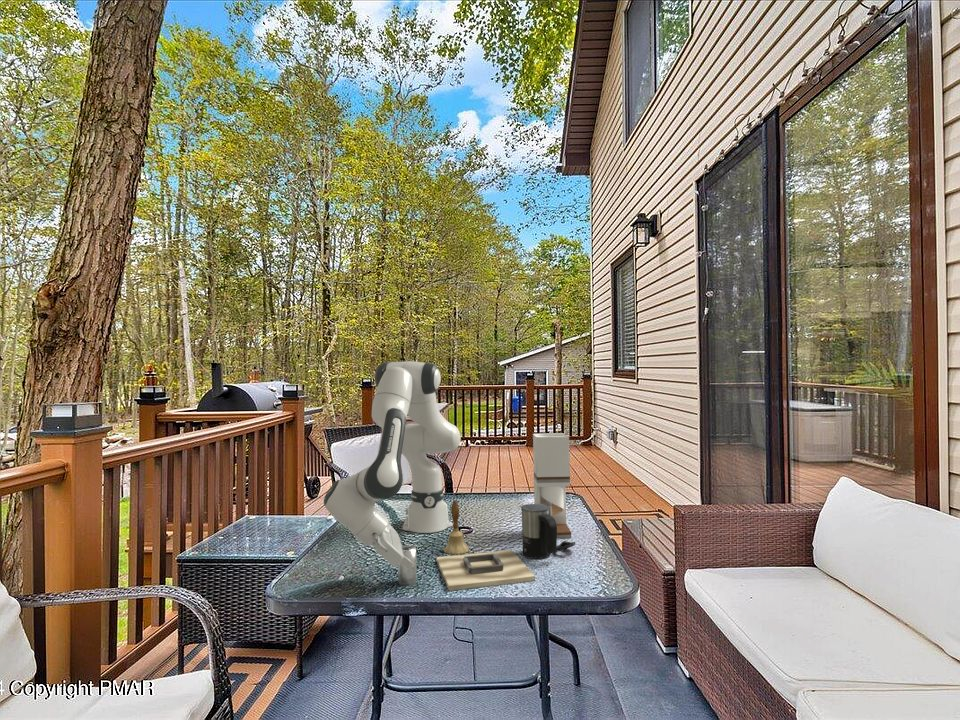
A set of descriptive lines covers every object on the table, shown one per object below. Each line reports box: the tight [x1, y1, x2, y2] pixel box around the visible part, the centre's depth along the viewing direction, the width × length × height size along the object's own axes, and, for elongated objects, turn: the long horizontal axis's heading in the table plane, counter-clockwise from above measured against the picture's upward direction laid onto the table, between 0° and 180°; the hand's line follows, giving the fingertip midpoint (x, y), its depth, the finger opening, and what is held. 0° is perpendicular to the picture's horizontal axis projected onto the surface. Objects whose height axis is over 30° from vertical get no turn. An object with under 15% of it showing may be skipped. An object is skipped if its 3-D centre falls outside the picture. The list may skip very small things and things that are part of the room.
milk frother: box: [520, 503, 576, 560], centre depth 158 cm, size 14×16×15 cm
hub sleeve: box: [397, 545, 418, 586], centre depth 137 cm, size 5×5×9 cm
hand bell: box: [443, 499, 470, 556], centre depth 162 cm, size 8×8×16 cm
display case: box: [532, 432, 572, 539], centre depth 178 cm, size 11×11×35 cm
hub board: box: [436, 549, 536, 591], centre depth 144 cm, size 22×24×3 cm
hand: (409, 561), depth 137 cm, fingers closed on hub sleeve, 5 cm apart
